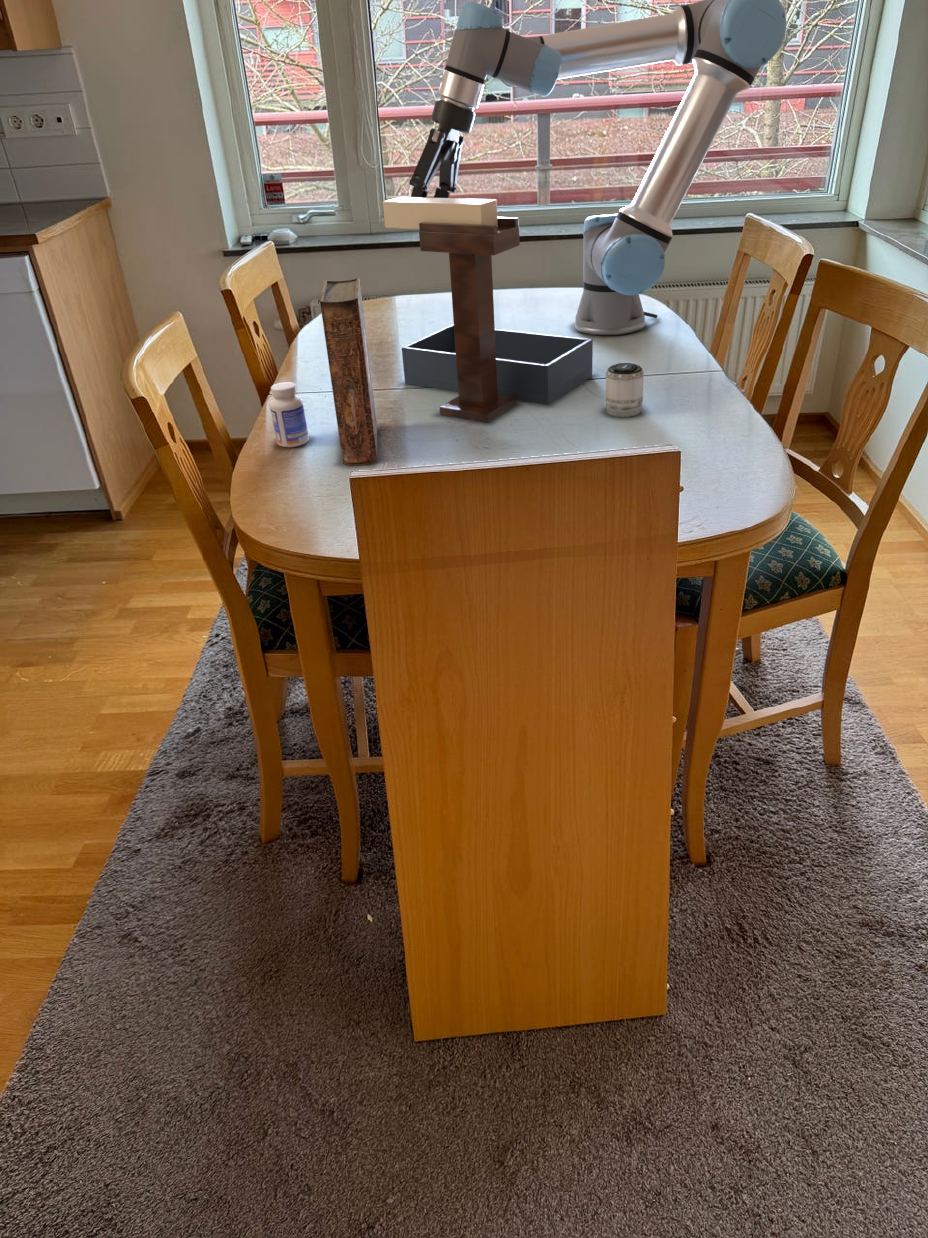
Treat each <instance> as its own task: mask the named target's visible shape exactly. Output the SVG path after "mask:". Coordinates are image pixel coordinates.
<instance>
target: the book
mask: <svg viewBox="0 0 928 1238" xmlns="http://www.w3.org/2000/svg"><path fill="white" fill-rule="evenodd" d="M319 305H320V312H321V320H322V326H323V332H324V333H323V334H324V341H325V346H326V347H325V348H326V354H327V360H328V369H329V374H330V383H331V389H332V395H333V403H334V411H335V417H336V424H337V425H336V426H337V432H338V439H339V447H340V453H341V461H342V464H343V465H345V466H364V465H370V464H373V463H376V462H377V461H378V424H377V423H378V422H377V414H376V407H375V398H374V397H375V396H374V390H373V380H372V371H371V362H370V356H369V345H368V337H367V328H366V321H365V312H364V303H363V294H362V287H361V279H360V277H358V276H357V277H356V278H354V279H347V280H335V281H333V280H327V279H325V280H324V281H323V285H322V291H321V296H320V299H319Z"/></svg>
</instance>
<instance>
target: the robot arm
mask: <svg viewBox="0 0 928 1238" xmlns="http://www.w3.org/2000/svg"><path fill="white" fill-rule="evenodd" d="M503 23H504V15H503V13H501V12H500V11H499V10H496V9H493V8H492V7H490V6H486V5H484V4H481V3H478V2H476V1H469V0H468V1H466V2H465V3H464V4H462V6H461V9H460V12H459V15H458V19H457V22H456V25H455V27H454V31H453V35H452V37H451V43H450V46H449V49H448V54H447V58H446V62H445V66H444V70H443V74H442V75H440V76H439V77H438V80H439V82H440V85H439V88H438V92H437V94H438V96H439V97H440V98H437V99H435V102H434V105H433V109H432V114H431V115H430V116H431V121H432V122H434V123H436V124H438V127H437V129H436V128H433V127H432V128H431V129H430V131H429V134H428V136H427V141H426V143H425V145H424V148H423V149H422V152H421V155H420V157H419V159H418V162H417V164H416V167H415V169H414V170H413V173H412V175H411V177H410V179H409V181H408V185H409V186H412V191H411V195H410V197H423V198H428V194H429V191H427V190H428V188H429V187H430V185H431V183H432V181H433V179H434V177H435V175H436V173H437V172H438V171H439V176H438V177H439V179H438V187H436V188H435V192H434V195H433V198H450V195H451V193H453V194H455V193H456V191H457V184H458V183H457V182H458V175H459V170H460V169H459V168H460V162H461V156H462V150H463V146H464V142H465V137H464V136H462V135H461V134H460V133H462V134H467V135H468V134H470V133H471V131H472V128H473V125H474V121H475V118H476V112H475V111H474V110H475V109H478V108H479V105H480V102H481V98H482V95H483V91H484V87H485V83H486V80H487V77H488V76H489V77H491V78H493V79H497V80H500V82H501V83H503V84H504V85H505V86H506V87H510V88H514V87H515V88H518V89H521V90H524V91H526V92H529V93H530V94H533V95H534V94H535V95H539V96H541V97H548V96H549V95H550V94H551V93H552V92H553V90H554V88H555V86H556V83H557V80H561V79H562V80H563V79H568V78H572V77H573V78H574V77H580V76H586V75H593V74H599V73H604V72H611V71H617V70H618V71H619V70H623V69H628V68H635V67H641V66H648V65H655V64H659V63H660V64H661V63H666V62H673V63H674V64H675V65H676V66H683V65H692V64H693V67H694V75H693V77H692V79H691V81H690V83H689V85H688V87H687V89H686V91H685V93H684V95H683V97H682V100H681V102H680V104H679V105H678V107H677V109H676V112H675V114H674V116H673V118H672V120H671V121H670V123H669V127H668V128H667V130H666V131H665V134H664V135H663V138H662V140H661V142H660V145H659V147H658V148H657V150H656V153H655V154H654V157H653V159H652V161H651V163H650V165H649V167H648V169H647V171H646V173H645V174H644V177H643V179H642V181H641V184H640V185H639V187H638V189H637V192H636V193H635V196H634V198H633V200H632V201H631V203H630V204H629V205H626V206H625V207H622V208H620V209H619V211H618V213H611V214H600V215H591V216H587V217H586V218H585V220H584V223H583V230H582V236H583V251H582V252H583V259H582V262H583V264H582V265H583V267H582V268H583V269H582V271H583V272H582V273H583V274H582V279H583V280H582V281H583V283H582V286H583V288H582V290H583V291H582V294H581V298H580V301H579V303H578V307H577V311H576V314H575V317H574V329H576V331H578V332H580V333H582V334H587V335H594V336H617V335H625V334H633V333H635V332H638V331H640V330H642V329H644V327H645V326H646V317H649V318H653V319H657V318H658V314H655V313H651V312H648V311H644V307H643V305H642V301H641V297H640V294H644V293H645V292H647V291H649V290H650V289H652V288H653V287H655V285H656V284H657V283H658V282H659V280H660V279H661V277H662V275H663V273H664V271H665V264H666V258H665V257H666V256H665V255H666V254H665V253H666V251H667V249H668V247H669V246H670V243H671V241H672V239H673V237H674V234H673V230H672V222H673V220H674V218H675V216H676V214H677V213H678V210H679V208H680V206H681V204H682V203H683V201H684V199H685V197H686V195H687V193H688V191H689V189H690V187H691V185H692V183H693V181H694V179H695V177H696V175H697V174H698V172H699V170H700V168H701V165H703V162H704V159H705V158H706V156H707V154H708V152H709V151H710V149H711V146H712V144H713V142H714V140H715V138H716V136H717V134H718V132H719V131H720V128H721V127H722V125H723V123H724V120H725V119H726V117H727V115H728V114H729V111H730V109H731V107H732V105H733V103H734V101H735V99H736V97H737V96H738V95H739V94H741V93H743V92H745V91H748V90H749V89H750V88H751V86H752V84H753V83H754V81H755V78H756V77H757V75H758V73H759V71H760V69H761V67H762V66H764V65H767V63H769V62H770V61H771V60H772V59H773V58H774V57H775V56H776V55H777V53H778V52H779V50H780V48H781V47H782V45H783V42H784V40H785V36H786V32H787V18H786V12H785V8H784V6H783V4H782V2H781V0H699V1H696V2H693V3H689V4H684V5H677V6H676V7H675V8H674V9H673V10H672V12H671V13H668V14H662V15H656V16H650V17H644V18H639V19H632V20H626V21H622V22H614V23H609V24H603V25H595V26H591V27H585V28H579V29H573V30H566V31H561V32H555V33H548V34H543V35H539V36H531V37H525V36H522V35H520V34H517V33H514V32H511V31H510V30H509V29H506V28H505V27H503V26H504V24H503Z"/></svg>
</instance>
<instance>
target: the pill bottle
mask: <svg viewBox="0 0 928 1238" xmlns="http://www.w3.org/2000/svg"><path fill="white" fill-rule="evenodd" d="M270 392H271V393H270V394H271V396H272V397H273V398H272V399H271V400H270V402H269V409H270V413H271V418H272V424H273V429H274V435H275V440H276V443H277V445H278V446H280V447H283V448H295V447H300V446H303V445H305V444H307V443H308V441H310V436H309V431H308V430H309V429H308V423H307V420H306V414H305V408H304V407H305V406H304V402H303V399H302V397H301V396H300V395H298V394H297V388H296V384H295V382H291V381H289V382H288V381H284V382H278V383H275V384H273V385H272V386H270Z"/></svg>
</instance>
